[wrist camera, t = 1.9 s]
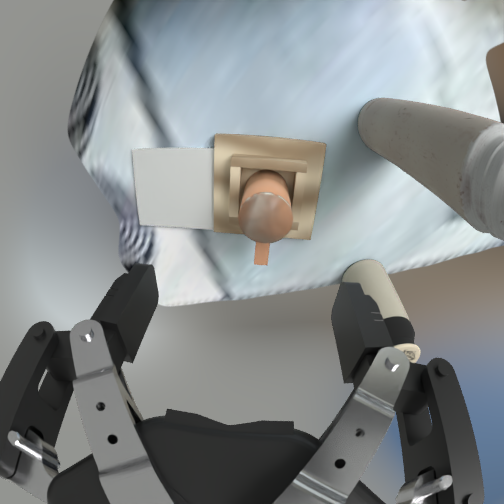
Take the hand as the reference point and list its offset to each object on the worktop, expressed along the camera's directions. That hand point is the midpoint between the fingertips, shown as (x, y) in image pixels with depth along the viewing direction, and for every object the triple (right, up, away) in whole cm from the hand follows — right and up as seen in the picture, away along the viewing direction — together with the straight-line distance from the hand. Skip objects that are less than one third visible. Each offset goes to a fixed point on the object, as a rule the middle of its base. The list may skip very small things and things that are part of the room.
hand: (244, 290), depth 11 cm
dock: (+2, +10, +25) cm, 27 cm away
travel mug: (+19, -3, +32) cm, 38 cm away
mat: (-11, +11, +25) cm, 30 cm away
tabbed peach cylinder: (+2, +8, +25) cm, 26 cm away
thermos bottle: (+18, +18, +19) cm, 32 cm away
